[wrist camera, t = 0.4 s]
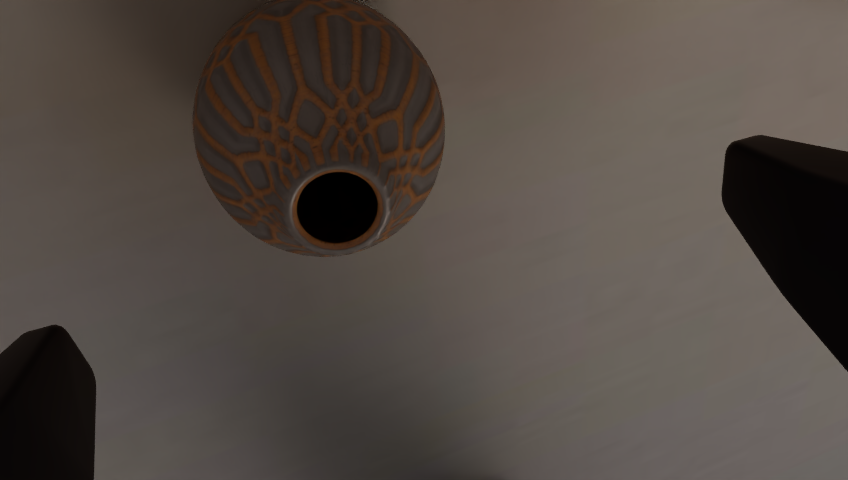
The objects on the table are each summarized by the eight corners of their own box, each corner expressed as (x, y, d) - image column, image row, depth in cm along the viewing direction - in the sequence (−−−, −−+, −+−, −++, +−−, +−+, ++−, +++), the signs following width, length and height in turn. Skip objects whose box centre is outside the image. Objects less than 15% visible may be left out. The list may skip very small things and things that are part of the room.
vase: (385, -54, 20) (453, 8, 13) (437, 146, 24) (513, 283, 17) (165, 13, 20) (108, 116, 13) (252, 205, 24) (247, 371, 17)
